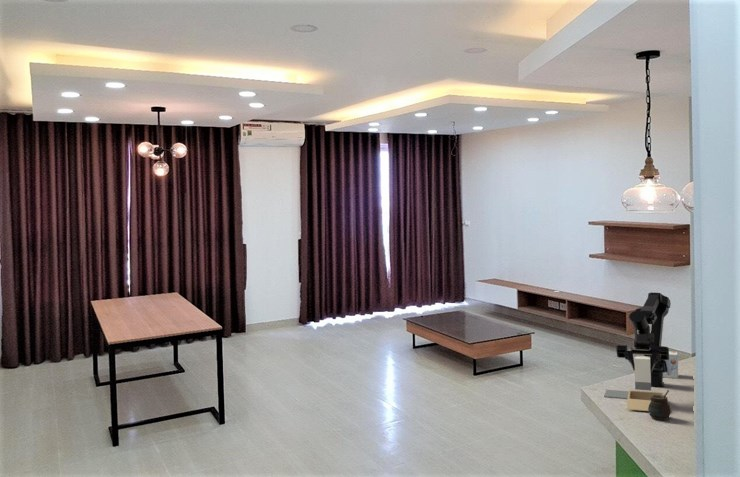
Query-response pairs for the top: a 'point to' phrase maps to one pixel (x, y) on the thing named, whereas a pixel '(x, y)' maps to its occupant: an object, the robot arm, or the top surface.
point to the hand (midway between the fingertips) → (642, 371)
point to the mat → (616, 394)
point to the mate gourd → (659, 407)
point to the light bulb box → (672, 365)
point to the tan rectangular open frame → (640, 399)
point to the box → (642, 373)
